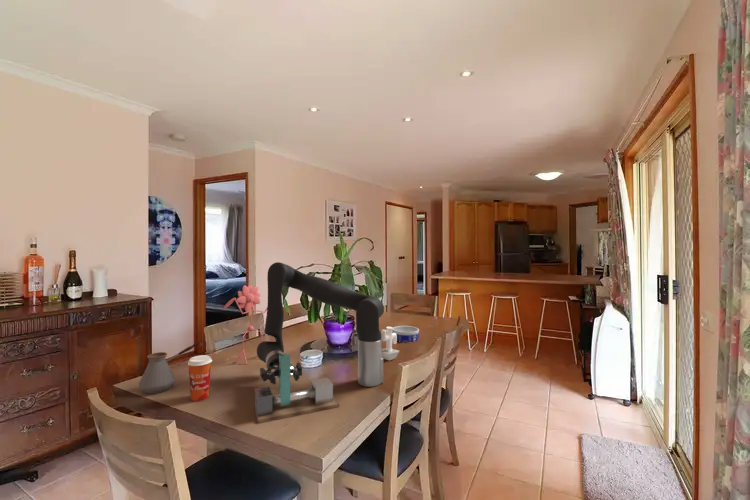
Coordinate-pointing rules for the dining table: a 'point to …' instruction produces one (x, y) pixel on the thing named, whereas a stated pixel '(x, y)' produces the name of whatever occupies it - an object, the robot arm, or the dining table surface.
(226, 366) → the dining table surface
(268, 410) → the sleeve and socket
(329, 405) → the walnut board
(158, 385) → the coffee pot
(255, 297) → the figurine
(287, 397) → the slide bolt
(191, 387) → the paper cup
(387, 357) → the figurine
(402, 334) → the dog bowl
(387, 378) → the dining table surface
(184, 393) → the dining table surface
